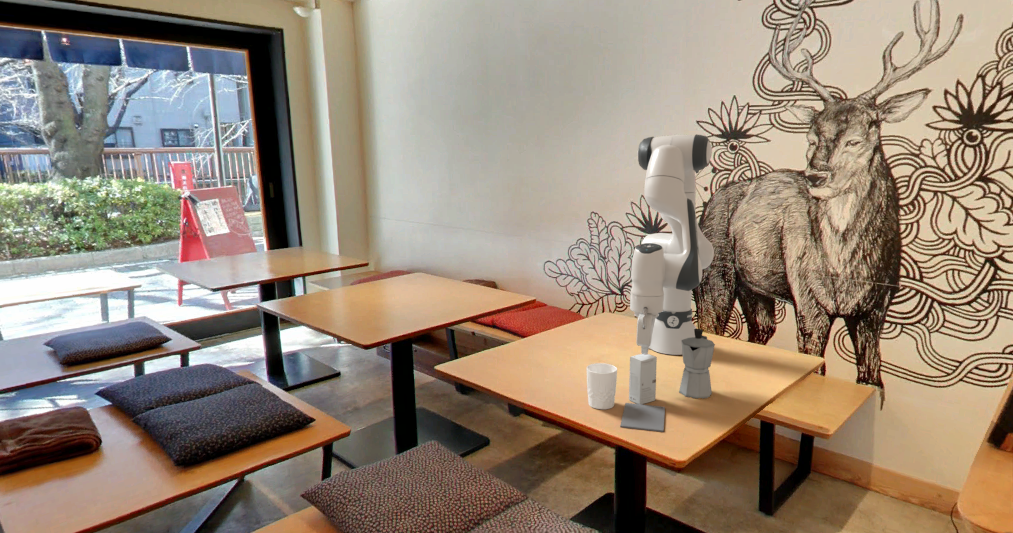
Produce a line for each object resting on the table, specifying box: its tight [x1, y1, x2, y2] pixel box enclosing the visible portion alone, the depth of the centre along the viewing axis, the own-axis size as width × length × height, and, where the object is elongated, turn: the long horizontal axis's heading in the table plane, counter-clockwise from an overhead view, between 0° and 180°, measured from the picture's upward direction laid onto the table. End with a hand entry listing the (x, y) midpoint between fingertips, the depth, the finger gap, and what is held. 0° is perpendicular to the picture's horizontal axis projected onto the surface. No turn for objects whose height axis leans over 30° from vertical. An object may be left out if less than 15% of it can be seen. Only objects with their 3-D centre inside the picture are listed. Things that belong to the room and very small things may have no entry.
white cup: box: [586, 362, 618, 410], centre depth 153 cm, size 8×8×10 cm
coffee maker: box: [678, 328, 716, 400], centre depth 160 cm, size 15×9×18 cm, turn 151°
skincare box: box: [628, 353, 658, 405], centre depth 155 cm, size 6×4×12 cm
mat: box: [619, 402, 666, 433], centre depth 146 cm, size 14×10×1 cm
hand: (644, 352), depth 162 cm, fingers closed
